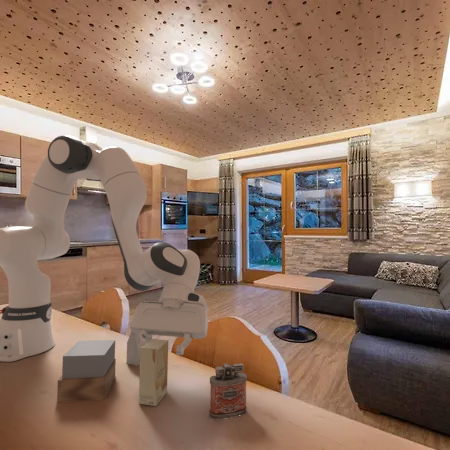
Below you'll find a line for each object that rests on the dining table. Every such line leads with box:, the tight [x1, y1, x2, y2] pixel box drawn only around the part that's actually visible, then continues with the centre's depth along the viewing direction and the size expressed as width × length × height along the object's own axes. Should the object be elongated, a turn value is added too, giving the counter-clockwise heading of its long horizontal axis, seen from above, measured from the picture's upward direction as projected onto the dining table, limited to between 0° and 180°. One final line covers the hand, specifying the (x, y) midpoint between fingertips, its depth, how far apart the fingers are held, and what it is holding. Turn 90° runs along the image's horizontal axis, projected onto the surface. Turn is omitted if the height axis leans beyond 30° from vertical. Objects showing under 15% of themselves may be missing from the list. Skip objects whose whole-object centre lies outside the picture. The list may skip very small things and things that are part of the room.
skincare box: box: [138, 338, 169, 407], centre depth 65 cm, size 6×4×12 cm
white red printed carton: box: [126, 329, 153, 366], centre depth 84 cm, size 4×7×10 cm, turn 157°
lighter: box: [208, 363, 248, 420], centre depth 60 cm, size 8×3×10 cm, turn 105°
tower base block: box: [56, 358, 117, 403], centre depth 68 cm, size 10×10×5 cm
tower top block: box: [61, 339, 116, 379], centre depth 68 cm, size 9×9×5 cm
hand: (160, 352), depth 68 cm, fingers open, 8 cm apart
